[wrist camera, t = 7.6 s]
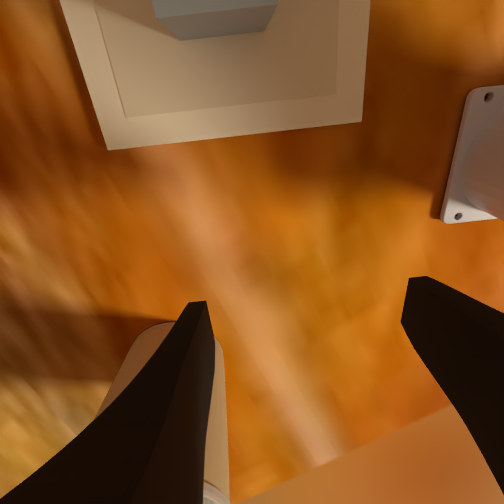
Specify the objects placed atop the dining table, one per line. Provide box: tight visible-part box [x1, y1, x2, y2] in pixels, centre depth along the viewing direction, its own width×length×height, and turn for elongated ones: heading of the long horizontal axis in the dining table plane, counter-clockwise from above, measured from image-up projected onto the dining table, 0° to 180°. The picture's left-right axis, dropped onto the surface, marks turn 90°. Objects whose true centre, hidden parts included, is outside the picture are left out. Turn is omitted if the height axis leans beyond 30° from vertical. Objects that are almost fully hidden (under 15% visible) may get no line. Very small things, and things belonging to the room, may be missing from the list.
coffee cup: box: [94, 322, 230, 504], centre depth 20 cm, size 9×9×12 cm
